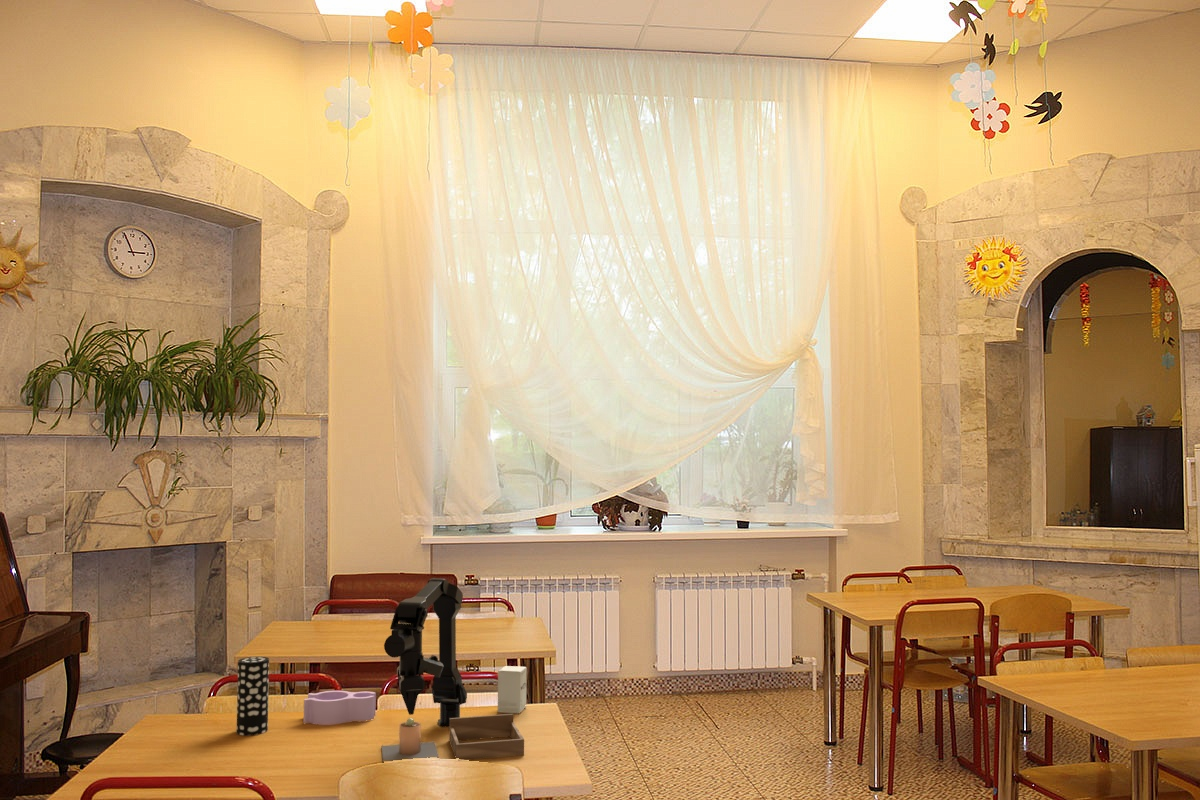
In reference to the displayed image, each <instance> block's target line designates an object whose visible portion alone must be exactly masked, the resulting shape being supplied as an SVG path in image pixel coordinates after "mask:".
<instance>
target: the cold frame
mask: <svg viewBox="0 0 1200 800" xmlns="http://www.w3.org/2000/svg"><path fill="white" fill-rule="evenodd" d="M448 727H449V731H448V732H449V738H448V741H449V740H450V741H449V744H450V743H451V744H450V747H451V746H452V747H451V750H452V749H453V750H452V751H453V755H454V754H455V755H454V758H455V759H456V758H459V759H470V760H478V759H479V758H482V759H490V758H503V757H505V758H506V757H515V756H516V755H518V756H525V739H524V737H523V735H522V734H521V732H520V730H519V729H518V727H517V725H516V724H515V722H514V713H504V714H492V715H491V714H490V715H478V716H476V715H475V716H463V717H461V716H460V718H450V724H449V726H448ZM508 736H511V737H510V738H511V739H501V740H500V739H499V740H488V741H475V742H464V743H463V742H461V743H460V741H458V740H461V741H468V740H467V739H474V740H481V739H480V738H487V739H492V738H491V737H499V738H509V737H508ZM455 756H456V757H455ZM516 757H517V756H516ZM479 760H480V759H479Z"/></svg>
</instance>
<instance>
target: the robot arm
mask: <svg viewBox="0 0 1200 800" xmlns="http://www.w3.org/2000/svg"><path fill="white" fill-rule="evenodd" d="M463 596H464V595H463V592H462V591H461V589H460V588H459V587H458V586H457V585H455V584H452V583H451V582H449V581H448V579H445V578H434V577H433V578H431V579H428V581H427V584H426V585H424V587H422V588H421V589H420V590H419V591H418V593H416V594H415V596H413V597H409V598H405V599H403V600H402V601H400V602H399V603H398V604H397V606H396V608H395V610H394V613H393V618H392V621H391V624H390V627H389V629H390V630H391V635H389V636H388V637H387V638H386V639H385V642H384V644H383V648H384V651H385V653H386V654H387V655H388V656H389V657H391V658H393V659H394V658H399V666H398V667H397V668H396V676H397V681H398V684H399V692H400V694H401V696H402V697H401V698H402V699H403V703H404V705H405V707H406V710H407V712H408V715H409V716H411V715H414V713H415V709H416V705H417V704H416V703H417V700H418V696H419V694H421V693H422V692H424V690H425V689H426V681H425V678H424V674H427V675H430V676H433V678H432V687H431V694H432V699H433V700H432V701H433V703H434V704H439V706H440V707H439V710H440V711H439V719H437V722H438V723H437V724H438V726H439V727H440V728H443V727H444V728H445V726H446V727H449V724H450V718H460V717H461V705H462V704H463V705H464V704H466V703H467V698H468V693H467V690H466V688H465V686H464V684H463V679H462V675H461V673H460V672H459V670H458V668H457V661H456V660H457V658H456V656H457V655H456V654H457V651H456V649H457V647H456V645H457V642H456V640H457V638H456V637H457V635H456V631H457V630H456V623H457V621H456V619H457V616H458V614H459V612H460V610H461V609H462V602H463V599H464V597H463ZM431 606H432V607H433V609H432V610H433V612H434V613H435V615H436V616H437V618H438V649H439V650H438V654H439V655H438V656H439V657H438V656H437V655H435V654H431V655H430V656H429V657H424V653H423V630H425V626H424V624H425V622H426V619H427V618H428V614H429V612H428V609H429V608H431Z"/></svg>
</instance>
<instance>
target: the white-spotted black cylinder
mask: <svg viewBox="0 0 1200 800" xmlns="http://www.w3.org/2000/svg"><path fill="white" fill-rule="evenodd" d="M269 676H270V657H267V656H250V657H243V658H240V659H238V661H237V685H236V686H237V688H236V689H237V692H236V693H237V695H236V697H237V698H236V732H235V733H236V734H237V735H239V736H247V737H248V736H256V735H262V734H264V733H266V732H268V728H269V725H268V724H269V688H270V687H269V685H270V684H269V683H270V681H269V679H270V677H269Z"/></svg>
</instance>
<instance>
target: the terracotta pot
mask: <svg viewBox="0 0 1200 800" xmlns="http://www.w3.org/2000/svg"><path fill="white" fill-rule="evenodd" d="M421 728H422V724H421V722H418V721H415V720H414V719H413V718H412V717H409V718H407V719H406V721H405V722H401V723H399V732H398V734H399V739H398V740H399V741H398V745H399V753H400V754H402V755H414V754H418V753H420V751H421V743H422V742H421V738H422V734H421V733H422V729H421Z"/></svg>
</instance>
